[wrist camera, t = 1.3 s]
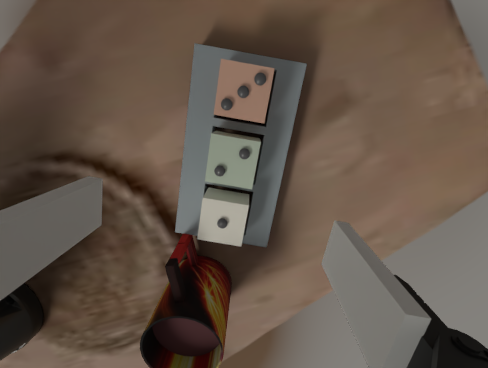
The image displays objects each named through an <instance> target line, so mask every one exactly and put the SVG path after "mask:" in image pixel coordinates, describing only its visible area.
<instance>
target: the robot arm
mask: <svg viewBox="0 0 488 368" xmlns="http://www.w3.org/2000/svg"><path fill="white" fill-rule="evenodd" d="M102 182H103V179H101V178H96V177H90V176H88V177H85V178H82V179H80V180H77V181H75V182H72V183H70V184H67V185H65V186H62V187H59V188H57V189H54V190H52V191H49V192H47V193H44V194H41V195H39V196H36V197H34V198H31V199H29V200H26V201H24V202H21V203H18V204H16V205H13V206H11V207H8V208H6V209H3V210H0V360H2V359H3V358H5V357H6V356H8V355H9V354H11V353H14V352H16V351H18V350H19V349H21V348H22V347H24V346H25V345H26V344H27V343H28V342H29V341H30V340H31V339H32V338H33V337H34V336H35V335H36V334H37V333H38V331H39V330H40V328H41V326H42V322H43V312H42V308H41V305H40V303H39V301H38V299H37V297H36V296H35V294H34V293H33V292H32V291H31V290H30V289H29V288H28V287H27V286H26V285H25V284H24V283H25V282H26V281H27V280H29V279H30V278H31V277H33V276H34V275H35V274H37V273H38V272H39V271H41V270H42V269H43V268H45V267H46V266H47V265H49V264H50V263H51V262H53V261H54V260H55V259H57V258H58V257H59V256H61V255H62V254H63V253H65V252H66V251H67V250H69V249H70V248H71V247H73V246H74V245H75V244H77V243H78V242H80V241H81V240H82V239H84V238H85V237H86V236H88V235H89V234H90V233H92V232H93V231H94V230H96V229H97V228H98V227H100V226H101V225H102ZM322 266H323V268H324V271H325V273H326V275H327V277H328V279H329V282H330V284H331V286H332V288H333V290H334V292H335V295H336V297H337V299H338V301H339V303H340V306H341V308H342V310H343V312H344V315H345V316H346V319H347V321H348V323H349V326H350V328H351V330H352V332H353V334H354V337H355V338H356V341H357V343H358V345H359V347H360V349H361V352H362V354H363V356H364V358H365V361H366V363H367V365H368V367H369V368H488V349H487V348H485V347H484V346H483V345H482V344H481V343H479V342H478V341H477V340H475V339H473V338H472V337H470V336H469V335H467V334H465V333H462V332H460V331H458V330H454V329H450V328H448V327H447V326H446V325H445V324H444V323H443V322H442V321H441V320H440V318H439V317H438V316H437V315H436V314H435V313H434V312H433V311H432V310H431V309H430V307H429V306H428V305H427V304H426V303H424V301H423V300H422V299H421V298H420V297H419V296H418V295H417V294H416V292H415V291H414V290H413V289H412V288H411V286H410V285H409V284H408V283H406V282H405V281H403V280H402V279H401V278H399V277H398V276H397V275H393V274H392V273H391V272H390V270H389V269H388V268H387V267H386V266H385V265H384V264H383V262H382V261H381V260H380V259H379V258H378V257H377V255H376V254H375V253H374V252H373V251H372V250H371V249H370V247H369V246H368V245H367V244H366V243H365V242H364V240H363V239H362V238H361V237H360V236H359V235H358V234H357V232H356V231H355V230H354V229H353V228H352V227H351V225H350V224H349V223H346V222H340V221H334V224H333V227H332V231H331V234H330V237H329V241H328V244H327V247H326V250H325V254H324V257H323V260H322Z"/></svg>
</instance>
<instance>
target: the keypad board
mask: <svg viewBox="0 0 488 368" xmlns="http://www.w3.org/2000/svg"><path fill="white" fill-rule="evenodd" d="M221 59H226V60H231V61H237V62H242V63H248V64H253V65H259V66H264V67H270V68H275V69H274V73H275V76H274V81H273V86H272V92H271V97H270V102H269V108H268V113H267V118H266V123H265V126H263V125H257V124H251V123H246V122H240V121H234V120H229V119H223V118H217V115H214V108H215V100H216V92H217V85H218V77H219V70H220V62H221ZM306 66H307V64H306V63H300V62H295V61H289V60H284V59H278V58H273V57H267V56H262V55H256V54H251V53H245V52H240V51H234V50H229V49H223V48H218V47H212V46H207V45H201V44H196V43H195V46H194V56H193V65H192V75H191V85H190V94H189V104H188V114H187V123H186V133H185V142H184V152H183V162H182V171H181V181H180V191H179V200H178V210H177V220H176V229H175V232H178V233H184V234H190V235H196V236H198V229H199V222H200V214H201V207H202V199H203V196H204V194H205V193H206V191H207V184H211V185H217V186H222V187H228V188H234V189H240V190H246V191H251V192H252V198H251V203H250V208H249V214H248V219H247V224H246V228H245V229H244V235H243V240H242V243H243V244H249V245H255V246H261V247H267V243H268V239H269V234H270V230H271V225H272V221H273V216H274V212H275V207H276V202H277V198H278V193H279V189H280V184H281V180H282V175H283V170H284V166H285V161H286V157H287V152H288V148H289V143H290V139H291V134H292V129H293V125H294V120H295V116H296V111H297V107H298V102H299V97H300V93H301V88H302V84H303V79H304V75H305V70H306ZM215 127H221V128H227V129H233V130H238V131H244V132H250V133H255V134H261V135H263V139H262V145H261V150H260V155H259V161H258V166H257V171H256V176H255V180H254V181H253V187H252V189H246V188H240V187H235V186H229V185H223V184H217V183H211V182H206V181H205V176H206V168H207V161H208V153H209V146H210V138H211V133H213V132H215Z"/></svg>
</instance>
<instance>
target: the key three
mask: <svg viewBox="0 0 488 368" xmlns="http://www.w3.org/2000/svg"><path fill="white" fill-rule="evenodd" d="M274 69H275V68H270V67H264V66H259V65H253V64H248V63H242V62H237V61H231V60H226V59H221V62H220V70H219V77H218V85H217V92H216V100H215V108H214V115H219V116H225V117H230V118H236V119H242V120H247V121H253V122H259V123H265V117H266V112H267V107H268V101H269V96H270V91H271V85H272V80H273V75H274Z"/></svg>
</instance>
